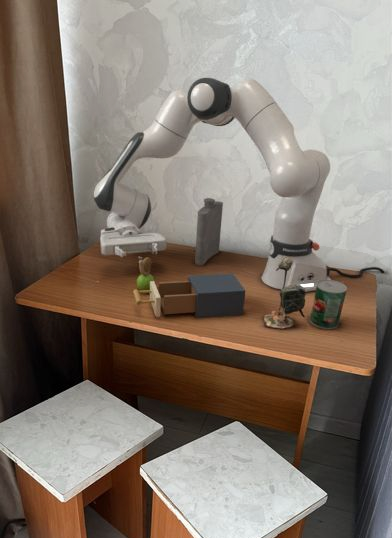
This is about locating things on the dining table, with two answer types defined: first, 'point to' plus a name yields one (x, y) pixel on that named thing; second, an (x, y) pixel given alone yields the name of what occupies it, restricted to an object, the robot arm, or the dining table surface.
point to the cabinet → (218, 295)
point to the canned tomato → (328, 304)
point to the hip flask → (208, 230)
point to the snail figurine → (144, 274)
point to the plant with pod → (287, 300)
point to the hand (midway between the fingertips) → (139, 253)
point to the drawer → (170, 297)
